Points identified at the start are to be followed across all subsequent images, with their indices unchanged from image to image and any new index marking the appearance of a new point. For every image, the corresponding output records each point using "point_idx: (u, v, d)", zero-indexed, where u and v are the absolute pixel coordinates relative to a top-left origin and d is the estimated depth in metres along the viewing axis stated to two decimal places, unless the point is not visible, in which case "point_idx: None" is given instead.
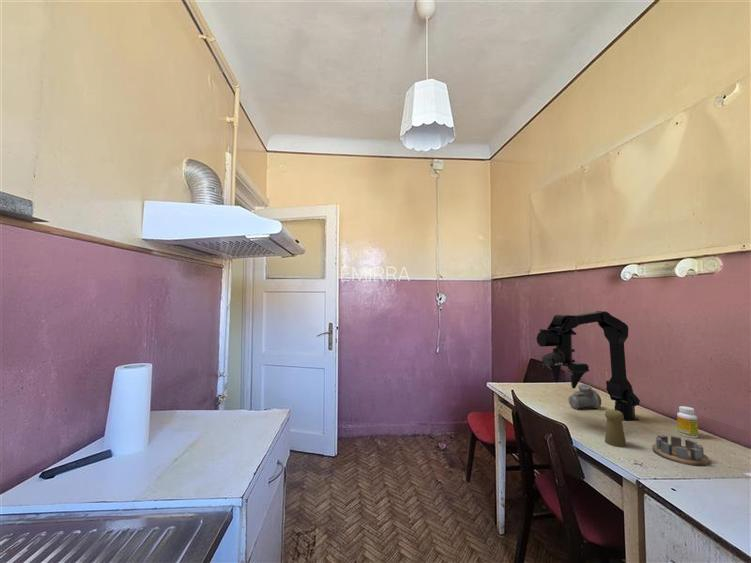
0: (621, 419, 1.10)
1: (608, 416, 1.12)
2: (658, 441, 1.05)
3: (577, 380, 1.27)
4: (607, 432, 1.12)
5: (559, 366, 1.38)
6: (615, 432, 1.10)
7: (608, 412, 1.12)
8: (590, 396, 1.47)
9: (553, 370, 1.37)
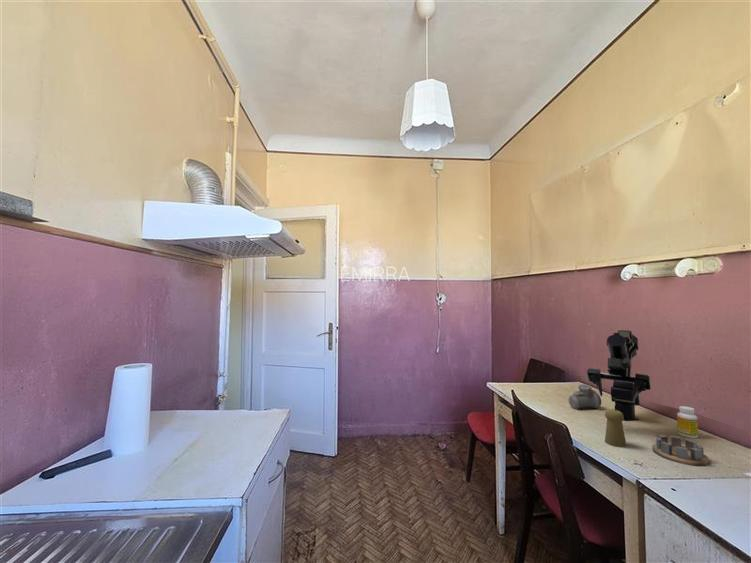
0: (621, 419, 1.10)
1: (608, 416, 1.12)
2: (658, 441, 1.05)
3: (636, 394, 1.17)
4: (607, 432, 1.12)
5: (601, 383, 1.27)
6: (615, 432, 1.10)
7: (608, 412, 1.12)
8: (590, 396, 1.47)
9: (600, 382, 1.24)
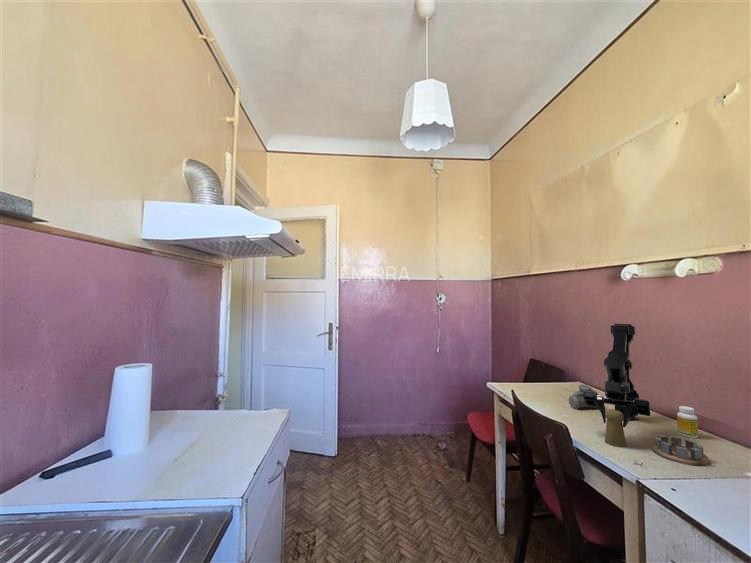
0: (621, 419, 1.10)
1: (608, 416, 1.12)
2: (658, 441, 1.05)
3: (628, 420, 1.11)
4: (607, 432, 1.12)
5: None
6: (615, 432, 1.10)
7: (608, 412, 1.12)
8: None
9: (604, 408, 1.16)
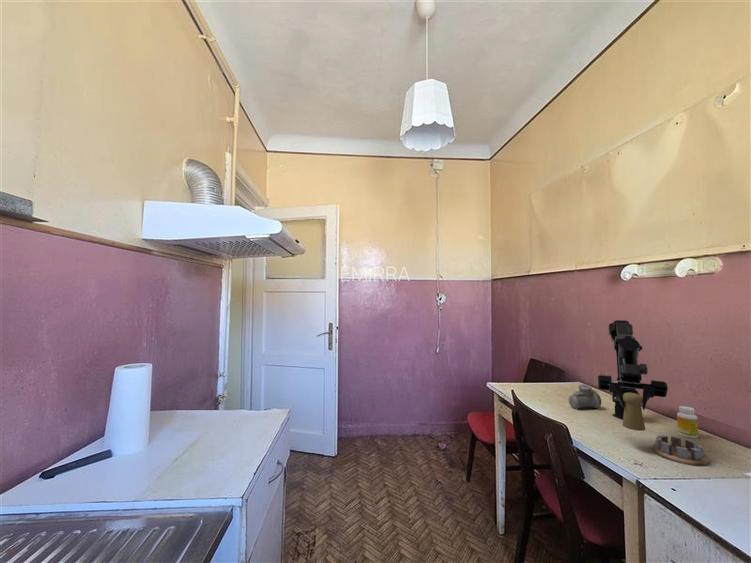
0: (641, 402, 1.07)
1: (628, 400, 1.08)
2: (658, 441, 1.05)
3: (646, 402, 1.09)
4: (626, 416, 1.09)
5: None
6: (635, 415, 1.07)
7: (627, 395, 1.09)
8: (590, 396, 1.47)
9: (621, 391, 1.12)
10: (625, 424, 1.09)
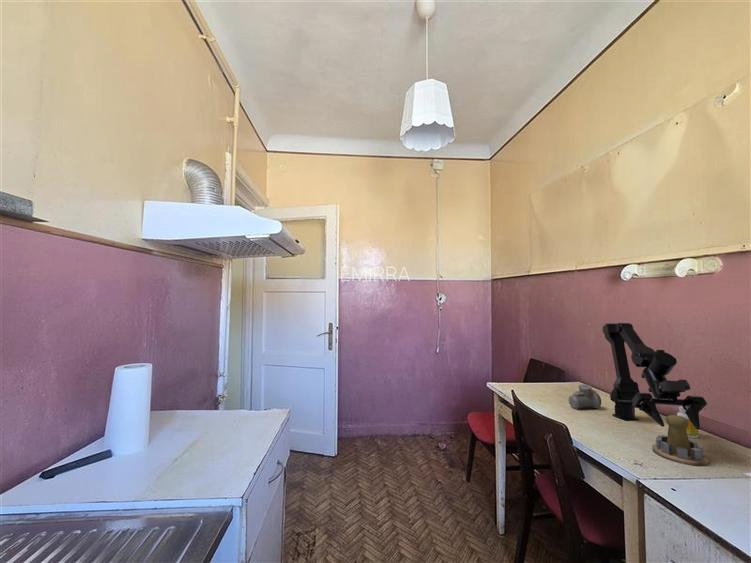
0: (687, 425, 1.02)
1: (676, 424, 1.02)
2: (658, 441, 1.05)
3: None
4: (674, 441, 1.03)
5: None
6: (684, 440, 1.01)
7: (674, 419, 1.03)
8: (590, 396, 1.47)
9: None
10: (673, 450, 1.02)
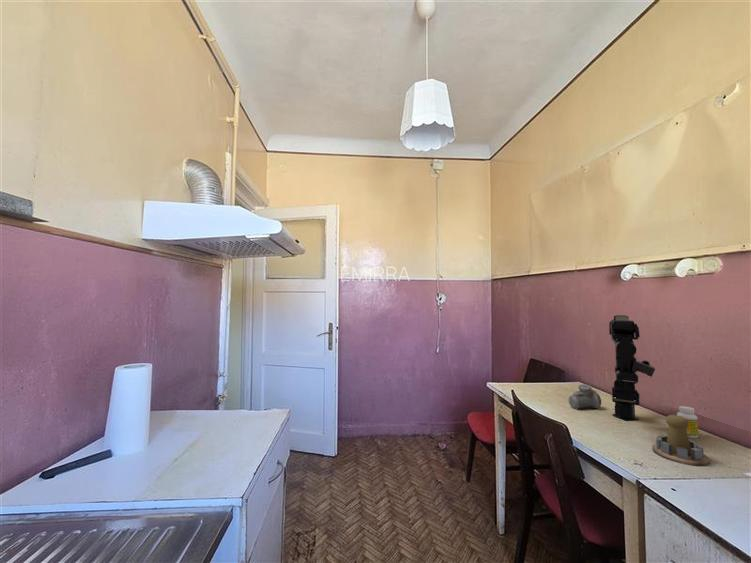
0: None
1: (676, 424, 1.02)
2: (658, 441, 1.05)
3: None
4: (674, 441, 1.03)
5: None
6: (684, 440, 1.01)
7: (675, 419, 1.03)
8: (590, 396, 1.47)
9: None
10: (673, 450, 1.02)
